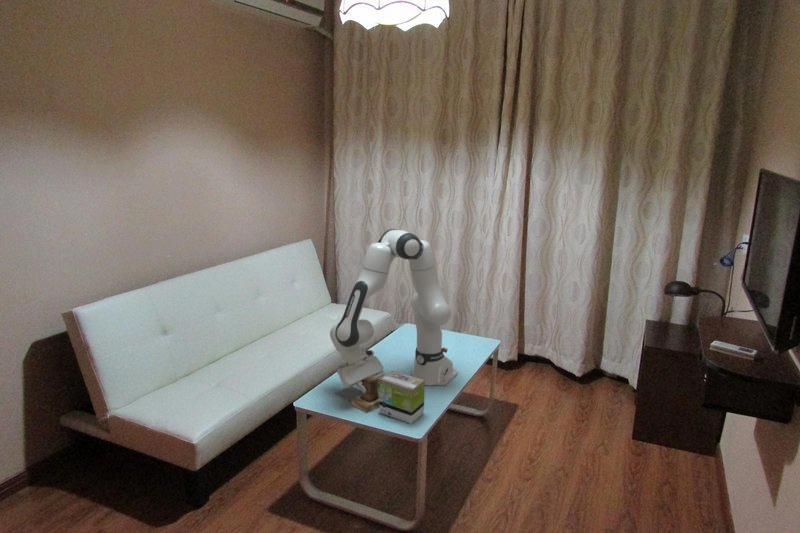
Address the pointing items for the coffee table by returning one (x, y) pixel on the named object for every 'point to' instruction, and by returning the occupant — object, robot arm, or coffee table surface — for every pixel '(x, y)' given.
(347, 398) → the rubber pad
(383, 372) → the grey round disc
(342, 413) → the coffee table surface
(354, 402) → the pocket board
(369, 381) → the walnut block
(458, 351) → the coffee table surface
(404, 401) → the tea box
